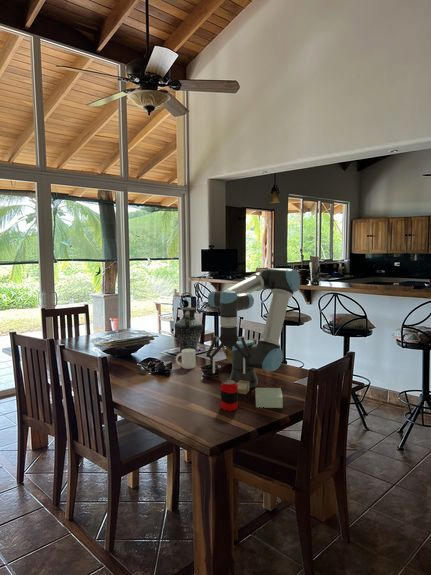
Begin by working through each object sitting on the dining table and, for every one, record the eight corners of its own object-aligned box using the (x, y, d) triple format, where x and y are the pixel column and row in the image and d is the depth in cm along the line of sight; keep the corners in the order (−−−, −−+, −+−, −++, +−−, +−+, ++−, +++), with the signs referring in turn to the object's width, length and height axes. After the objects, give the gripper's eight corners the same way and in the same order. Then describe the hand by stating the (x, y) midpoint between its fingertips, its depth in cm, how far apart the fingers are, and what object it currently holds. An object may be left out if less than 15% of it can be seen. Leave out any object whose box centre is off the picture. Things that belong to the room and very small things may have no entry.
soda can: (224, 403, 198) (224, 378, 197) (240, 406, 195) (239, 380, 194) (218, 409, 191) (218, 383, 190) (234, 412, 188) (234, 385, 187)
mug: (177, 370, 250) (176, 353, 249) (174, 366, 258) (174, 349, 257) (196, 368, 254) (196, 351, 253) (193, 364, 262) (193, 348, 260)
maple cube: (245, 394, 210) (245, 384, 210) (236, 393, 212) (236, 383, 212) (249, 391, 215) (249, 381, 214) (239, 389, 217) (239, 380, 216)
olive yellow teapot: (249, 359, 272) (249, 335, 271) (261, 366, 257) (261, 341, 255) (217, 363, 264) (216, 339, 263) (227, 370, 249) (227, 345, 247)
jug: (174, 348, 302) (173, 306, 299) (202, 347, 304) (201, 305, 301) (175, 355, 282) (174, 311, 278) (204, 354, 284) (203, 310, 280)
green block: (255, 407, 193) (255, 396, 193) (255, 397, 205) (255, 387, 205) (282, 407, 192) (282, 397, 192) (280, 398, 204) (280, 388, 204)
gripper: (199, 327, 186) (200, 374, 189) (257, 327, 185) (257, 375, 187) (201, 324, 194) (202, 369, 196) (256, 324, 192) (256, 370, 194)
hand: (229, 372), depth 191 cm, fingers open, 13 cm apart
